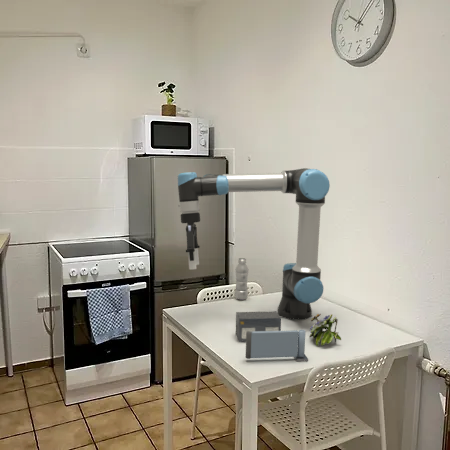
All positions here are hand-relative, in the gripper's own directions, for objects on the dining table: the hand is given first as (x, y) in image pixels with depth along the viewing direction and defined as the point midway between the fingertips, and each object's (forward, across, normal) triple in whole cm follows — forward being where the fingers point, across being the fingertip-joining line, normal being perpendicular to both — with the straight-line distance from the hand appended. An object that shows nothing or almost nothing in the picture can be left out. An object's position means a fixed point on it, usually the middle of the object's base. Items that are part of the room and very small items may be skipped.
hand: (194, 267), depth 192 cm
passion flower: (+32, +4, +48) cm, 58 cm away
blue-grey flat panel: (+30, +23, +27) cm, 47 cm away
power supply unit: (+29, +2, +22) cm, 37 cm away
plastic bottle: (+23, -47, +17) cm, 55 cm away
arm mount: (+32, +21, +36) cm, 53 cm away
